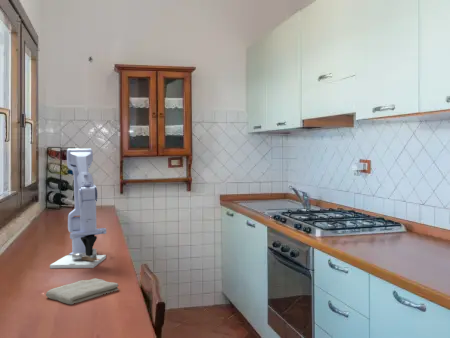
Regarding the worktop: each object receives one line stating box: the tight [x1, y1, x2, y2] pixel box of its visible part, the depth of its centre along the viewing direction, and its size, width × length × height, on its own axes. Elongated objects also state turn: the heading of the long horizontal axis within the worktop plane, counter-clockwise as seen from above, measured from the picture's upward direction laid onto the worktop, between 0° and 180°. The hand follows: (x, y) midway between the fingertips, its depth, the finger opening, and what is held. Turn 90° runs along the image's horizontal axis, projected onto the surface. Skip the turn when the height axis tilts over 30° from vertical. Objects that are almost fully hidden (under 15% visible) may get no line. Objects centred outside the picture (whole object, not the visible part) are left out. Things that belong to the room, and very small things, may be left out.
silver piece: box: [72, 248, 97, 261], centre depth 174 cm, size 11×5×4 cm, turn 64°
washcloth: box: [45, 278, 119, 305], centre depth 136 cm, size 12×18×3 cm, turn 143°
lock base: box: [49, 254, 107, 269], centre depth 175 cm, size 16×16×1 cm
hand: (89, 255), depth 171 cm, fingers closed, pressing on silver piece
